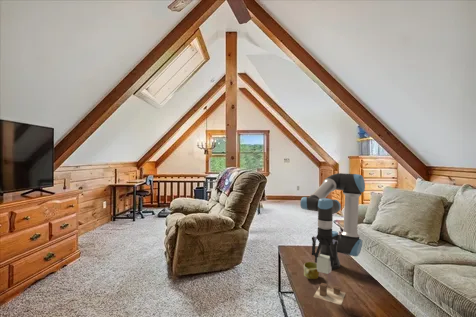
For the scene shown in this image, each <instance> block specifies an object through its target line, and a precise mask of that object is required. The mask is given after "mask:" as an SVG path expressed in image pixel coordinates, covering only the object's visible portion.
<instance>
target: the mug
mask: <svg viewBox="0 0 476 317" xmlns="http://www.w3.org/2000/svg"><path fill="white" fill-rule="evenodd" d="M319 275H320V272H318V271H317V263H315V261H314V262H313V261H307V262H304V264H303V276H304V277H306V279H311V280H317V279H318V278H319Z"/></svg>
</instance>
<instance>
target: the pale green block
mask: <svg viewBox="0 0 476 317" xmlns="http://www.w3.org/2000/svg"><path fill="white" fill-rule="evenodd" d="M319 254H320V253H319ZM319 254H318V264H317V263H316V264H317V271H318V272H319V273H323V274H326V275H329V260H330V256H327V255H322V254H320V255H319Z"/></svg>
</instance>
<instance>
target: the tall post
mask: <svg viewBox="0 0 476 317" xmlns="http://www.w3.org/2000/svg"><path fill="white" fill-rule="evenodd" d="M319 286H320V295H321V296H324V297H326V295H327V288H328V284H327V283H325V282H324V283H323V282H321V283H320V285H319Z"/></svg>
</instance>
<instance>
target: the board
mask: <svg viewBox="0 0 476 317" xmlns="http://www.w3.org/2000/svg"><path fill="white" fill-rule="evenodd" d="M341 288H342V287H341V286H338V285H334V286H333V288H330V287H327V295H326V297H324V296H321V295H320V285H319V286H318V289H317V290H316V291H315V293H314V295H313V298H315V299H320V300H322V301H323V300H324V301H326V302H329V303H333V304H336V305H339V306H342V304H343V301H344V299H345V296H346V292H344V291H341Z"/></svg>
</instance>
